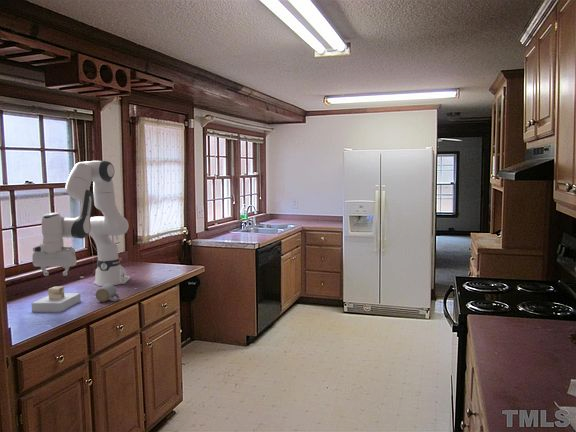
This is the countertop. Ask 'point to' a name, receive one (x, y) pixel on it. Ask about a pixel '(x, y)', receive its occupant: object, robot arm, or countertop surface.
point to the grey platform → (55, 303)
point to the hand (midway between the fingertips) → (55, 275)
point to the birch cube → (56, 292)
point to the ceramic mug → (107, 293)
